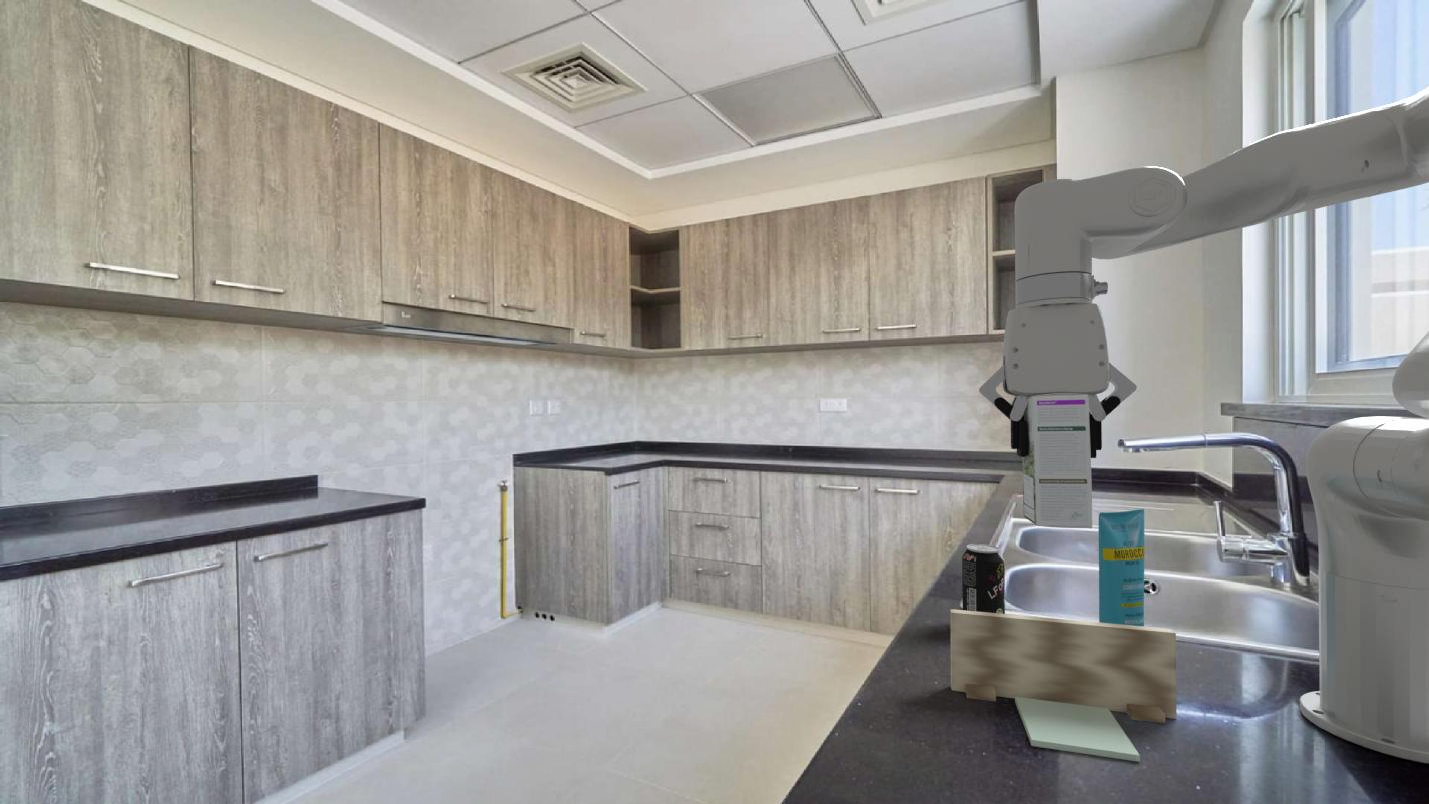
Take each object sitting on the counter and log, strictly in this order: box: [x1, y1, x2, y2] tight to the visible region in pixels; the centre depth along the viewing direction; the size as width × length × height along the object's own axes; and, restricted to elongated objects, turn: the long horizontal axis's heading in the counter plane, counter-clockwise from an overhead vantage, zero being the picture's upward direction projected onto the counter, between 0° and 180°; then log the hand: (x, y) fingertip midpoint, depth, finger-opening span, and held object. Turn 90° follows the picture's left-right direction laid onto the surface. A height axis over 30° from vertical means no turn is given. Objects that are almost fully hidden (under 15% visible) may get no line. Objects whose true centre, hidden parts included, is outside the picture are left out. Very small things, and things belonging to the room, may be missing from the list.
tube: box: [1098, 508, 1146, 627], centre depth 79 cm, size 7×5×19 cm, turn 111°
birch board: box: [949, 608, 1178, 724], centre depth 67 cm, size 22×4×9 cm, turn 73°
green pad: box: [1014, 697, 1141, 763], centre depth 61 cm, size 9×9×1 cm
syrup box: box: [1021, 393, 1093, 529], centre depth 68 cm, size 6×6×14 cm
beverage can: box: [961, 543, 1006, 614], centre depth 89 cm, size 6×6×12 cm
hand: (1054, 454), depth 67 cm, fingers closed on syrup box, 6 cm apart
